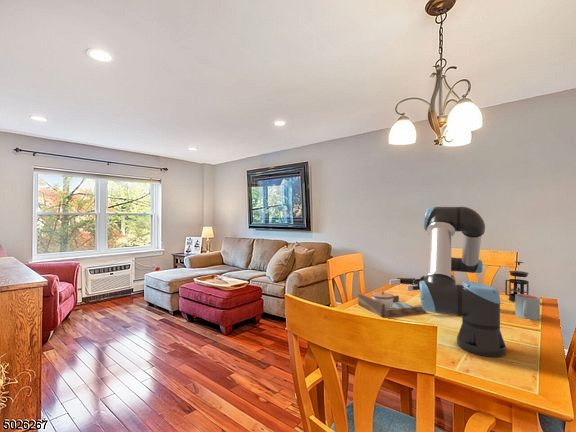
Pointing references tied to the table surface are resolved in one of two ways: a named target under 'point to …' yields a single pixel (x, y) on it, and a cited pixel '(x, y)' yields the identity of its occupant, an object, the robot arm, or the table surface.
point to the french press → (521, 282)
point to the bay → (380, 310)
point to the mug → (527, 306)
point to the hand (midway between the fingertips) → (398, 285)
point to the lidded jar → (383, 298)
